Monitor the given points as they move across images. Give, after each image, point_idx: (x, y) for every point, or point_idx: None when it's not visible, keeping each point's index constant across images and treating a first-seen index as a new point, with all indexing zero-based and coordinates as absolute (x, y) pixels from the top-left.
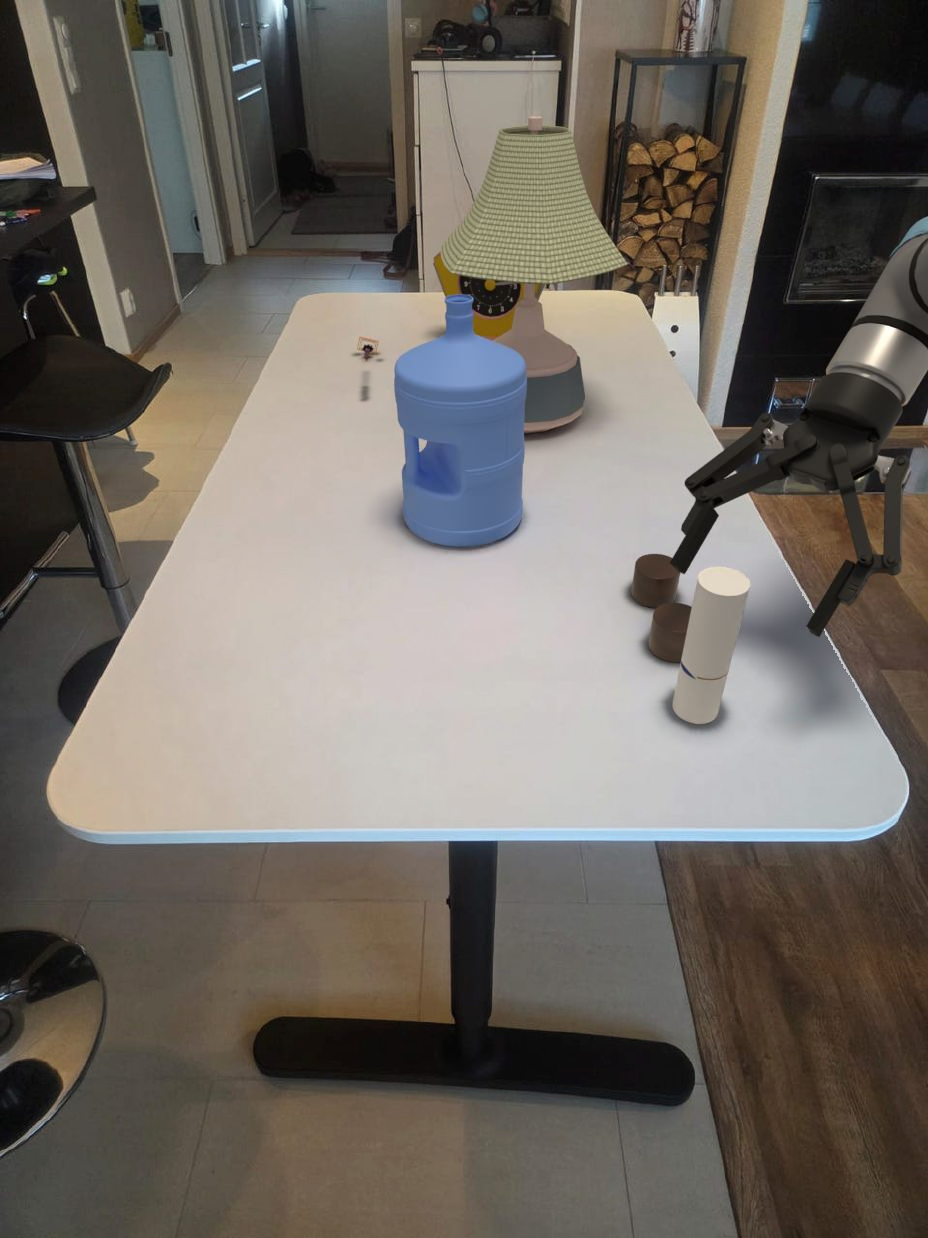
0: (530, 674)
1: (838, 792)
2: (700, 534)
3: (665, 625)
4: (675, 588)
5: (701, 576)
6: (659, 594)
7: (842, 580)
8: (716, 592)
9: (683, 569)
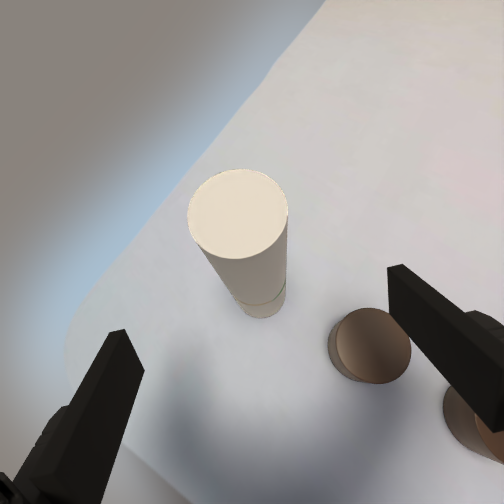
0: (389, 186)
1: (103, 328)
2: (438, 338)
3: (364, 314)
4: (463, 431)
5: (271, 186)
6: (458, 395)
7: (63, 421)
8: (219, 177)
9: (391, 303)
